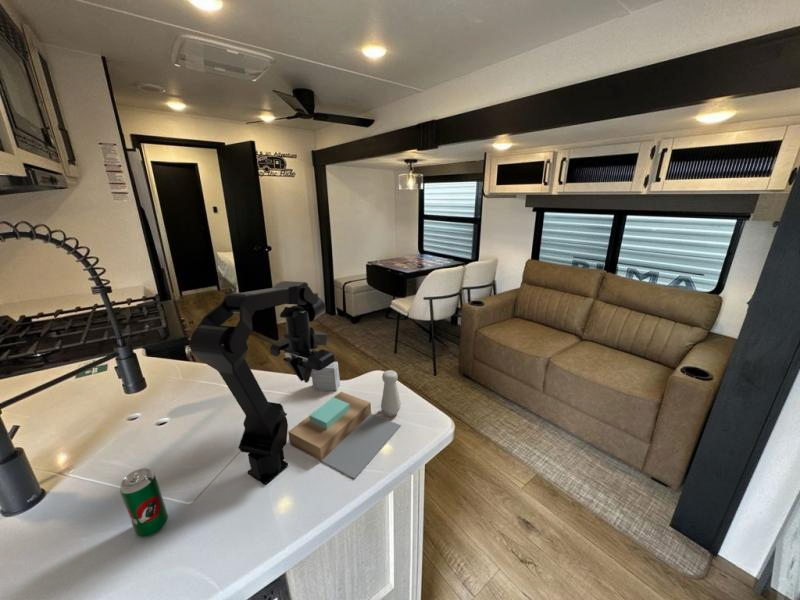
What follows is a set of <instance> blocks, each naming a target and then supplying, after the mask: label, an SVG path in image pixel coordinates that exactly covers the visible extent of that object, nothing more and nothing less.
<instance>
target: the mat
mask: <svg viewBox="0 0 800 600" xmlns="http://www.w3.org/2000/svg"><path fill="white" fill-rule="evenodd" d="M401 426H402V425H401V424H399V423H396V422H393V421H391V420H389V419H387V418H383V417H381V416H378V415H376V414H373V413H371V414H370V415H369V416H368V417H367V418H366V419H365V420H364V421H363V422H362V423H361V424H360V425H359V426H357V427H356V428H355V429H354V430H353V431H352V432H351V433H350V434H349V435H348V436H347V437H346V438H345V439H344V440H343V441H342V442H341V443H340V444H339V445H338V446H336V447H335V448H334V449H333V450H332V451H331V452H330V453H329V454H328V455H327V456H326V457H325V458H324V459H323V460H322V462H321V463H323V464H325V465H327V466H329V467H330V468H333V469H335V470H337V471H338V472H340V473H342V474H344V475H346V476H348V477H349V478H351V479H353V480H357V477H358V476H359V475H360V474H361V473H362V471H364V469H366V467H367V466H368V465H369V464H370V462H372V460H374V458H375V457H376V455H378V453H379V452H380V451H381V450H382V449H383V447H384V446H385V445H386V444H387V443H388V441H390V439H391V438H392V437H393V436H394V435H395V434H396V433H397V431H398V430H399V429H400V428H401Z"/></svg>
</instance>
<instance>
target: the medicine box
mask: <svg viewBox="0 0 800 600" xmlns="http://www.w3.org/2000/svg"><path fill="white" fill-rule="evenodd" d="M339 369H340V368H339V362H338V361H335V362H333V363H331V364H330V365H328V366H327V367H325V368H323V369H322V370H318V371H317V370H314V369H312V372H311V380H312V389H313V391H324V392H326V391H329V392H333V391H334V392H337V391H338V388H339V387H340V385H341V381H340V380H341V379H340V371H339Z"/></svg>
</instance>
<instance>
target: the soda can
mask: <svg viewBox="0 0 800 600" xmlns="http://www.w3.org/2000/svg"><path fill="white" fill-rule="evenodd" d="M119 492H120V495H121V498H122V500H123V503H124V505H125V509H126V511H127V513H128V516H129V519H130V523H131V524H132V527H133V530H134V533H135V535H136V536H137V537H138V538H139V537H140V538H148V537H151V536H153V535H155V534H156V533H158V532H159V531H160V530H162V529H163V528H164V527H165V525H166V523H167V522H168V519H169V513H168V510H167V508H166V505H165V502H164V498H163V495H162V491H161V489H160V486H159V483H158V479H157V477H156V473H155V472H154V471H152V470H151V469H150V468H148V467H143V468H140V469H136V470H134V471H132V472H130V473H128V474H127V475H126V476H125V477H124V478H123V479H122V480H121V483H120V488H119Z"/></svg>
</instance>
